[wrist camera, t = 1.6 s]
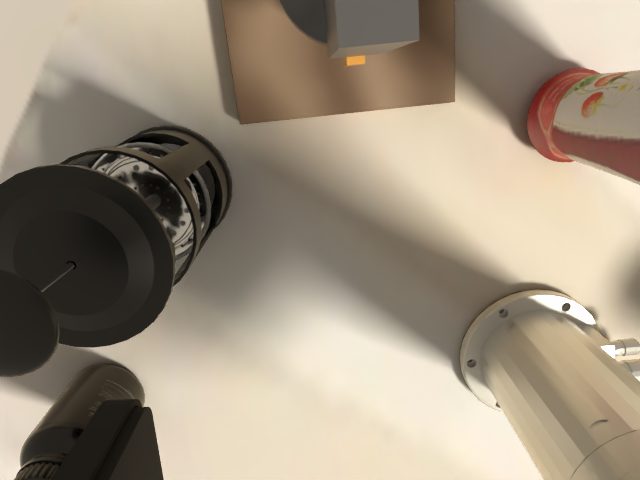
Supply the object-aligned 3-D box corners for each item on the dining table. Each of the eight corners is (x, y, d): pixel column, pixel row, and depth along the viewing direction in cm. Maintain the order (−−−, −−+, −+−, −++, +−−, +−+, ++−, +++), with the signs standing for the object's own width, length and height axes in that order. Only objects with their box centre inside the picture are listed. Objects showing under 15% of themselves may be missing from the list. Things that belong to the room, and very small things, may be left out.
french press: (168, 92, 35) (-58, 108, 13) (262, 177, 37) (201, 310, 15) (77, 202, 37) (-238, 369, 16) (170, 276, 40) (8, 510, 18)
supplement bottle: (62, 366, 42) (-27, 470, 31) (136, 356, 42) (73, 457, 31) (84, 427, 44) (9, 545, 33) (155, 417, 44) (103, 533, 33)
